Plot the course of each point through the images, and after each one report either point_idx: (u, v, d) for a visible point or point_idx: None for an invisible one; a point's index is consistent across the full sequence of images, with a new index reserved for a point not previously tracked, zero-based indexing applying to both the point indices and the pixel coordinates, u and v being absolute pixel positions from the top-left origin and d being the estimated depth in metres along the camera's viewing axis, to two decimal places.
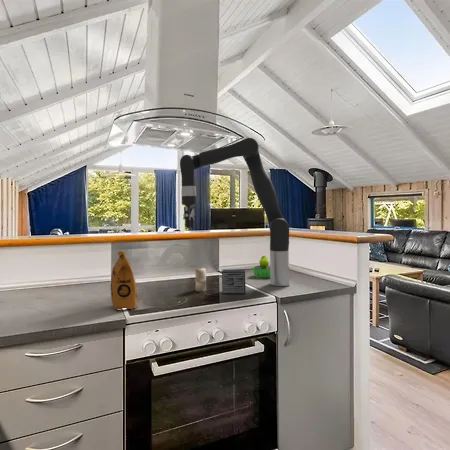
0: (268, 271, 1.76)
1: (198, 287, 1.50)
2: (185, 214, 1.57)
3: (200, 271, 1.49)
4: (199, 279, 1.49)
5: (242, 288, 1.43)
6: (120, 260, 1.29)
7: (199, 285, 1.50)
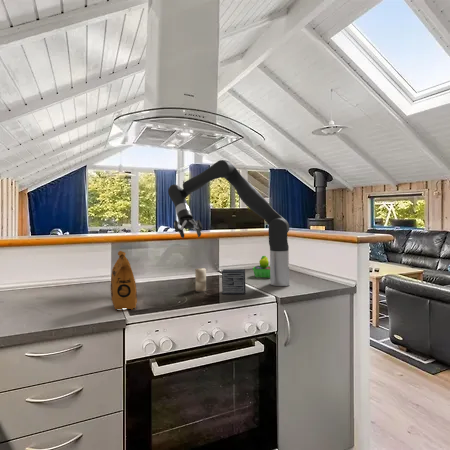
0: (268, 271, 1.76)
1: (198, 287, 1.50)
2: None
3: (200, 271, 1.49)
4: (199, 279, 1.49)
5: (242, 288, 1.43)
6: (120, 260, 1.29)
7: (199, 285, 1.50)
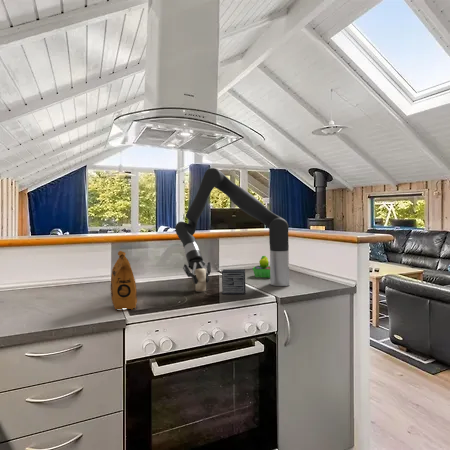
0: (268, 271, 1.76)
1: (198, 287, 1.50)
2: None
3: (200, 271, 1.49)
4: (199, 279, 1.49)
5: (242, 288, 1.43)
6: (120, 260, 1.29)
7: (199, 285, 1.49)
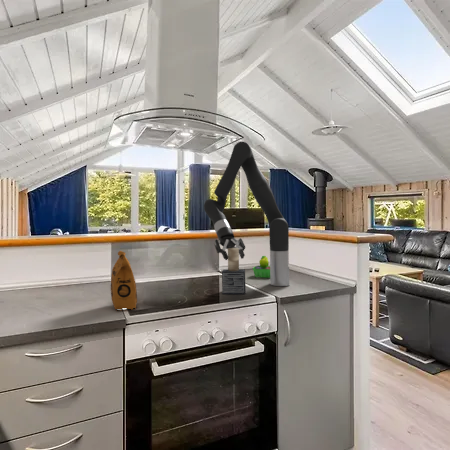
0: (268, 271, 1.76)
1: (231, 266, 1.44)
2: (218, 248, 1.47)
3: (233, 250, 1.43)
4: (232, 258, 1.44)
5: (242, 288, 1.43)
6: (120, 260, 1.29)
7: (232, 264, 1.44)
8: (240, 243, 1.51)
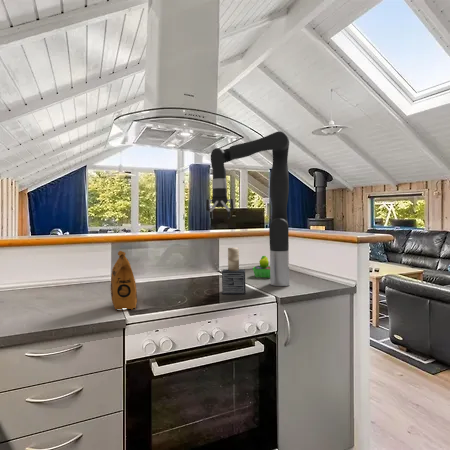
0: (268, 271, 1.76)
1: (231, 266, 1.44)
2: None
3: (233, 250, 1.43)
4: (232, 258, 1.44)
5: (242, 288, 1.43)
6: (120, 260, 1.29)
7: (232, 264, 1.44)
8: None
